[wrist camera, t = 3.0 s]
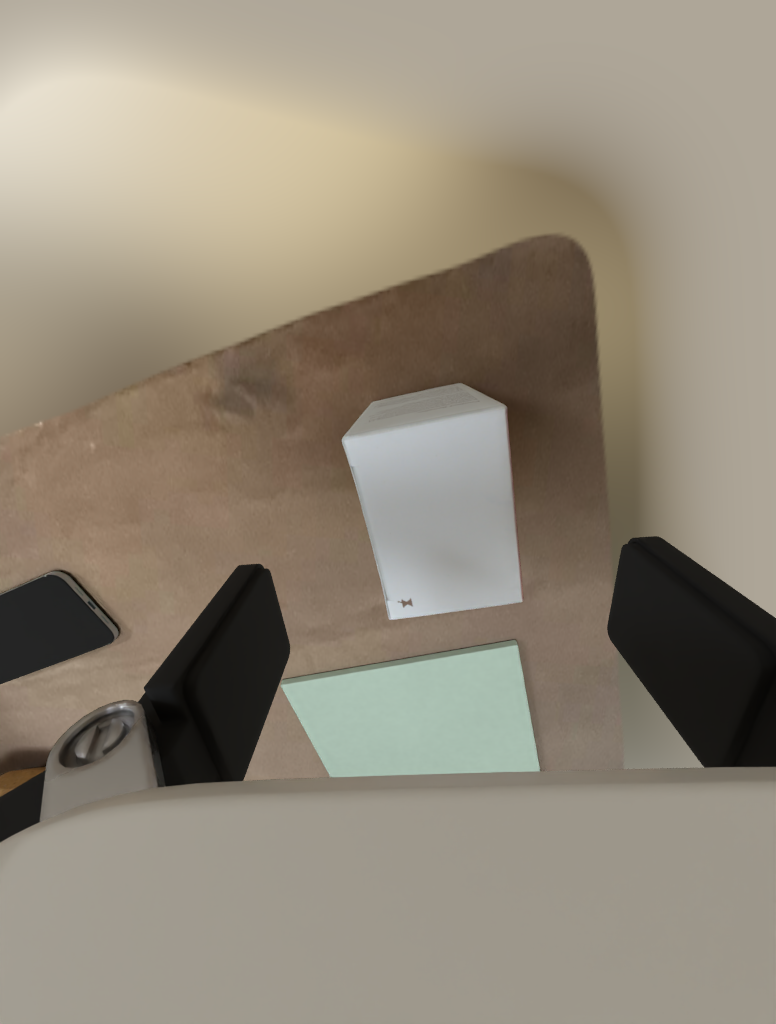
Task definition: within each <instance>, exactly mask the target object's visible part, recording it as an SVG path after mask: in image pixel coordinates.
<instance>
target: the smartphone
mask: <svg viewBox="0 0 776 1024" xmlns="http://www.w3.org/2000/svg"><path fill="white" fill-rule="evenodd" d="M117 637H118V629H117V628H116V626H115V625H114V624H113V623H112V622H111V621H110V620H109V619H108V618H107V617H106V615H105V614H104V613H103V612H102V611H101V610H100V609H99V608H98V607H97V606H96V605H95V603H94V602H93V601H92V600H91V599H90V598H89V597H88V596H87V595H86V594H85V593H84V592H83V590H82V589H81V588H80V587H79V586H78V585H77V584H76V583H75V582H74V581H73V580H72V578H71V577H69V576H68V575H67V574H65V573H62V572H58V571H53V572H50V573H48V574H45V575H43V576H41V577H38V578H36V579H34V580H32V581H29V582H27V583H25V584H22V585H20V586H18V587H16V588H13V589H11V590H9V591H6V592H4V593H2V594H0V684H2V683H5V682H8V681H11V680H13V679H16V678H19V677H21V676H24V675H27V674H30V673H32V672H35V671H38V670H40V669H43V668H46V667H49V666H51V665H54V664H57V663H59V662H62V661H65V660H68V659H70V658H73V657H76V656H78V655H81V654H84V653H87V652H89V651H92V650H95V649H97V648H100V647H103V646H106V645H108V644H111V643H112V642H113V641H114V640H115V639H116V638H117Z"/></svg>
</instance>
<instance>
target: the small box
mask: <svg viewBox="0 0 776 1024" xmlns="http://www.w3.org/2000/svg"><path fill="white" fill-rule="evenodd" d="M342 444H343V447H344V450H345V453H346V456H347V459H348V462H349V465H350V468H351V471H352V475H353V478H354V481H355V485H356V488H357V492H358V495H359V499H360V503H361V507H362V511H363V514H364V518H365V522H366V526H367V529H368V533H369V537H370V540H371V544H372V548H373V552H374V556H375V560H376V564H377V568H378V571H379V575H380V579H381V584H382V588H383V593H384V597H385V603H386V607H387V612H388V617H389V619H391V620H393V619H402V618H409V617H418V616H425V615H433V614H440V613H447V612H455V611H462V610H469V609H477V608H484V607H492V606H499V605H506V604H511V603H520V602H522V601H523V600H524V597H523V587H522V576H521V565H520V554H519V542H518V530H517V520H516V508H515V496H514V485H513V474H512V462H511V450H510V439H509V429H508V417H507V407H506V406H505V405H504V404H502V403H500V402H498V401H496V400H494V399H492V398H490V397H488V396H486V395H484V394H482V393H481V392H478V391H477V390H474V389H472V388H471V387H469V386H467V385H464V384H463V383H457V384H452V385H447V386H442V387H437V388H432V389H428V390H423V391H419V392H414V393H409V394H405V395H400V396H396V397H391V398H387V399H383V400H378V401H374V402H372V403H371V404H370V405H369V406H368V408H367V409H366V410H365V411H364V412H363V413H362V415H361V416H360V417H359V418H358V420H357V421H356V422H355V423H354V424H353V426H352V427H351V428H350V429H349V431H348V432H347V433H346V434H345V435H344V437H343V438H342Z"/></svg>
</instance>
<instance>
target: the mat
mask: <svg viewBox="0 0 776 1024" xmlns="http://www.w3.org/2000/svg"><path fill="white" fill-rule="evenodd" d="M281 687H282V689H283V691H284V693H285V694H286V696H287V698H288V700H289V702H290V704H291V705H292V707H293V709H294V711H295V713H296V715H297V716H298V718H299V720H300V722H301V724H302V726H303V727H304V729H305V731H306V733H307V735H308V737H309V738H310V740H311V742H312V744H313V746H314V748H315V749H316V751H317V753H318V755H319V757H320V759H321V760H322V762H323V764H324V766H325V768H326V770H327V771H328V773H329V775H330V777H359V776H389V775H421V774H457V773H493V772H532V771H540V767H539V762H538V756H537V751H536V745H535V739H534V734H533V728H532V723H531V717H530V711H529V706H528V700H527V695H526V689H525V683H524V678H523V672H522V667H521V661H520V655H519V650H518V645H517V642H516V640H511V641H505V642H499V643H494V644H488V645H482V646H476V647H470V648H465V649H459V650H453V651H447V652H441V653H435V654H430V655H424V656H418V657H412V658H406V659H401V660H395V661H389V662H383V663H377V664H372V665H366V666H360V667H354V668H348V669H343V670H337V671H331V672H325V673H319V674H313V675H308V676H302V677H296V678H290V679H284V680H282V683H281Z"/></svg>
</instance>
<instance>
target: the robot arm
mask: <svg viewBox="0 0 776 1024" xmlns="http://www.w3.org/2000/svg"><path fill="white" fill-rule="evenodd" d="M607 630H608V635H609V638H610V640H611V641H612V643H613V644H614V646H615V647H616V648H617V650H618V651H619V652H620V654H621V655H622V656H623V658H624V659H625V660H626V662H627V663H628V664H629V666H630V667H631V669H632V670H633V671H634V673H635V674H636V675H637V677H638V678H639V679H640V681H641V682H642V683H643V685H644V686H645V687H646V689H647V690H648V692H649V693H650V694H651V696H652V697H653V698H654V700H655V701H656V703H657V704H658V705H659V706H660V708H661V709H662V711H663V712H664V713H665V715H666V716H667V718H668V719H669V720H670V722H671V723H672V724H673V726H674V727H675V728H676V730H677V731H678V732H679V734H680V735H681V737H682V738H683V739H684V741H685V742H686V743H687V745H688V746H689V747H690V748H691V750H692V752H693V753H694V754H695V756H696V757H697V758H698V760H699V761H700V762H701V764H702V765H703V766H704V767H705V768H667V769H616V770H571V771H532V772H493V773H457V774H421V775H389V776H359V777H328V778H297V779H271V780H252V781H243V779H244V777H245V774H246V772H247V769H248V766H249V763H250V761H251V758H252V755H253V753H254V750H255V747H256V745H257V742H258V739H259V736H260V734H261V731H262V728H263V726H264V723H265V720H266V718H267V715H268V712H269V709H270V707H271V704H272V701H273V699H274V696H275V693H276V691H277V688H278V685H279V683H280V680H281V677H282V674H283V672H284V669H285V666H286V664H287V661H288V658H289V654H290V644H289V639H288V636H287V632H286V628H285V625H284V621H283V617H282V613H281V610H280V606H279V602H278V599H277V595H276V591H275V587H274V584H273V580H272V576H271V573H270V571H269V569H264V567H263V566H262V565H261V564H251V565H239V566H238V567H237V568H236V569H235V570H234V572H233V573H232V574H231V575H230V577H229V578H228V579H227V581H226V582H225V583H224V585H223V586H222V587H221V588H220V590H219V591H218V592H217V594H216V595H215V596H214V597H213V599H212V600H211V601H210V603H209V604H208V605H207V607H206V608H205V609H204V610H203V612H202V613H201V614H200V616H199V617H198V618H197V619H196V621H195V622H194V623H193V625H192V626H191V627H190V629H189V630H188V631H187V632H186V634H185V635H184V636H183V638H182V639H181V640H180V641H179V643H178V644H177V645H176V647H175V648H174V649H173V651H172V652H171V653H170V654H169V656H168V657H167V658H166V660H165V661H164V662H163V663H162V665H161V666H160V667H159V669H158V670H157V671H156V673H155V674H154V675H153V676H152V678H151V679H150V680H149V682H148V683H147V684H146V685H145V687H144V690H145V694H144V695H143V696H142V698H141V699H140V700H139V702H136V701H134V700H122V701H117V702H113V703H110V704H107V705H105V706H102V707H100V708H98V709H96V710H94V711H93V712H91V713H89V714H87V715H86V716H84V717H83V718H81V719H80V720H79V721H78V722H76V723H75V724H74V725H72V726H71V727H70V728H69V729H68V730H67V731H66V732H65V733H64V734H63V735H62V736H61V737H60V738H59V739H58V741H57V742H56V744H55V745H54V747H53V748H52V750H51V751H50V754H49V757H48V760H47V763H46V770H45V771H43V772H41V773H40V774H38V775H36V776H35V777H33V778H31V779H30V780H28V781H26V782H24V783H23V784H21V785H19V786H18V787H16V788H14V789H13V790H11V791H9V792H8V793H6V794H4V795H3V796H1V797H0V1024H776V618H775V617H773V616H772V615H770V614H769V613H768V612H766V611H765V610H763V609H762V608H760V607H759V606H758V605H756V604H755V603H753V602H752V601H751V600H749V599H748V598H746V597H745V596H743V595H742V594H741V593H739V592H738V591H736V590H735V589H733V588H732V587H731V586H729V585H728V584H726V583H725V582H723V581H722V580H721V579H719V578H718V577H716V576H715V575H713V574H712V573H711V572H709V571H708V570H706V569H705V568H703V567H702V566H701V565H699V564H698V563H696V562H695V561H693V560H692V559H691V558H689V557H688V556H686V555H685V554H684V553H682V552H681V551H679V550H678V549H676V548H675V547H674V546H672V545H671V544H669V543H668V542H666V541H665V540H664V539H662V538H660V537H640V538H632V539H630V541H629V542H628V544H625V545H623V547H622V550H621V555H620V560H619V565H618V571H617V576H616V582H615V587H614V593H613V598H612V604H611V609H610V615H609V620H608V627H607Z"/></svg>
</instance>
